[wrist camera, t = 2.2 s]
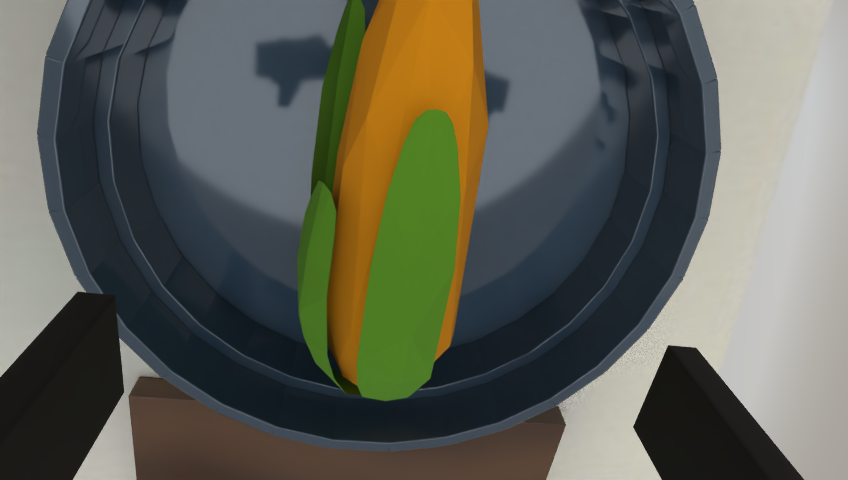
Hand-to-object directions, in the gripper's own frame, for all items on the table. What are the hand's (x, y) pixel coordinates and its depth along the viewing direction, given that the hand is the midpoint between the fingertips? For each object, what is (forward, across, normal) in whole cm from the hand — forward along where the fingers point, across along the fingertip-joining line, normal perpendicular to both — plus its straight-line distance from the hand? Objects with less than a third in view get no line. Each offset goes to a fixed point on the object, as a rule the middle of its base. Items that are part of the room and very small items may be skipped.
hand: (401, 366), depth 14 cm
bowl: (+14, 0, 0) cm, 14 cm away
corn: (+14, 0, 0) cm, 14 cm away
